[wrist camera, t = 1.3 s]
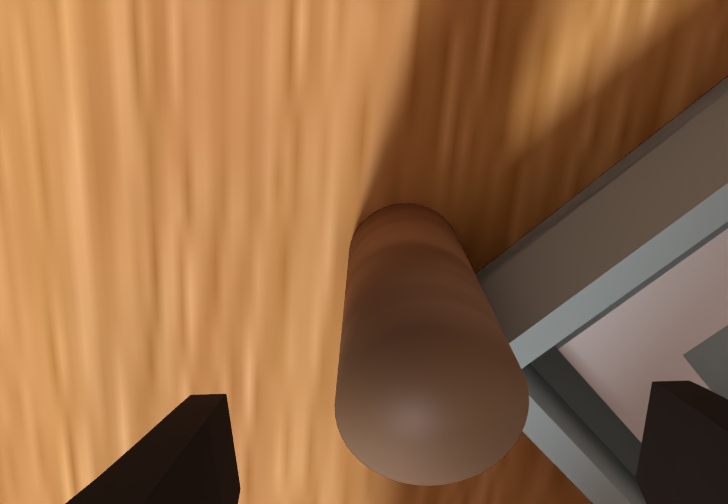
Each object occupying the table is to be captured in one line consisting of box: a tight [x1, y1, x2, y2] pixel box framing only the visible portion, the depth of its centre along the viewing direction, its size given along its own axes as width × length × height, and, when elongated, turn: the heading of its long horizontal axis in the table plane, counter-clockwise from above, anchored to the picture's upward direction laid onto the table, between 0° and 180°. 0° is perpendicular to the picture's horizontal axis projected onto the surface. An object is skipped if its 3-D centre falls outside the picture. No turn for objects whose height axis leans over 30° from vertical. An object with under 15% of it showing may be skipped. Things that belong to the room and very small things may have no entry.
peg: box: [335, 204, 529, 486], centre depth 14 cm, size 4×4×8 cm
